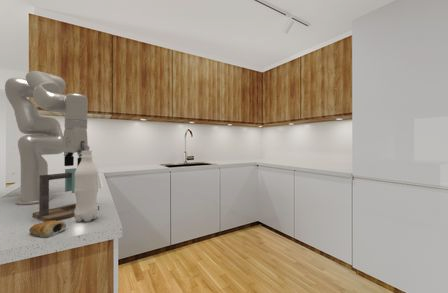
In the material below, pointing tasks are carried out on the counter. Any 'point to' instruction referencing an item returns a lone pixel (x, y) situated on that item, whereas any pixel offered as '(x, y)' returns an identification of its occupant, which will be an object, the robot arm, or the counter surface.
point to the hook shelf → (57, 213)
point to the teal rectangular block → (70, 180)
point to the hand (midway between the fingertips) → (75, 166)
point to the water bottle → (86, 188)
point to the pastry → (48, 228)
